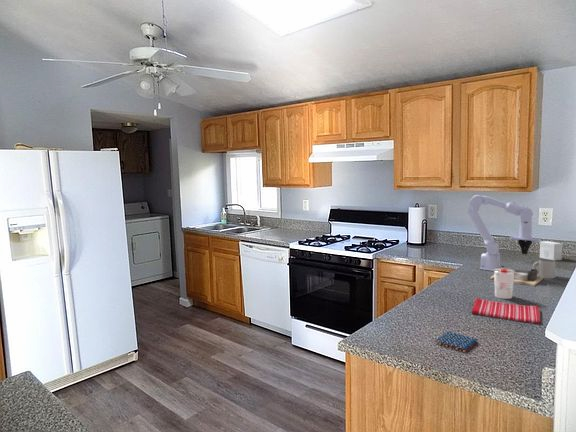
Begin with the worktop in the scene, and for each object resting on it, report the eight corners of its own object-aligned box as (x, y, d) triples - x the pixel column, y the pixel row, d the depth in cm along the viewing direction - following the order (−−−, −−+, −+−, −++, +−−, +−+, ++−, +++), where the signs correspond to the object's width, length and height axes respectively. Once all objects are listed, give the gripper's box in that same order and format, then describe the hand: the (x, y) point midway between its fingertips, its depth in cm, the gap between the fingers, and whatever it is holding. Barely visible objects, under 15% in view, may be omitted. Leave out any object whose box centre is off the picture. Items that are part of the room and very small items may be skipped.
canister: (505, 300, 171) (506, 274, 170) (487, 295, 179) (488, 270, 177) (519, 297, 176) (520, 270, 174) (501, 292, 183) (502, 267, 182)
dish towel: (475, 302, 171) (475, 297, 171) (540, 311, 158) (540, 305, 158) (470, 315, 157) (470, 309, 157) (540, 326, 144) (540, 319, 144)
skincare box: (562, 260, 243) (562, 243, 242) (553, 260, 241) (554, 244, 240) (547, 256, 253) (547, 240, 252) (539, 257, 251) (539, 241, 250)
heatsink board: (490, 279, 205) (490, 268, 205) (500, 273, 216) (500, 262, 216) (534, 286, 191) (534, 274, 190) (542, 279, 202) (543, 268, 202)
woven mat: (447, 335, 138) (447, 329, 138) (478, 344, 131) (479, 338, 131) (433, 344, 131) (433, 339, 131) (466, 354, 124) (466, 348, 123)
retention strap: (498, 271, 208) (498, 267, 208) (500, 270, 210) (500, 266, 210) (532, 276, 197) (532, 272, 197) (533, 275, 199) (534, 270, 199)
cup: (554, 279, 201) (555, 262, 200) (531, 277, 207) (532, 260, 206) (555, 276, 207) (556, 259, 206) (533, 274, 213) (533, 257, 212)
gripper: (508, 229, 217) (507, 253, 219) (538, 231, 207) (537, 256, 208) (512, 227, 222) (512, 251, 223) (542, 229, 211) (541, 254, 213)
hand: (524, 253), depth 216 cm, fingers closed
